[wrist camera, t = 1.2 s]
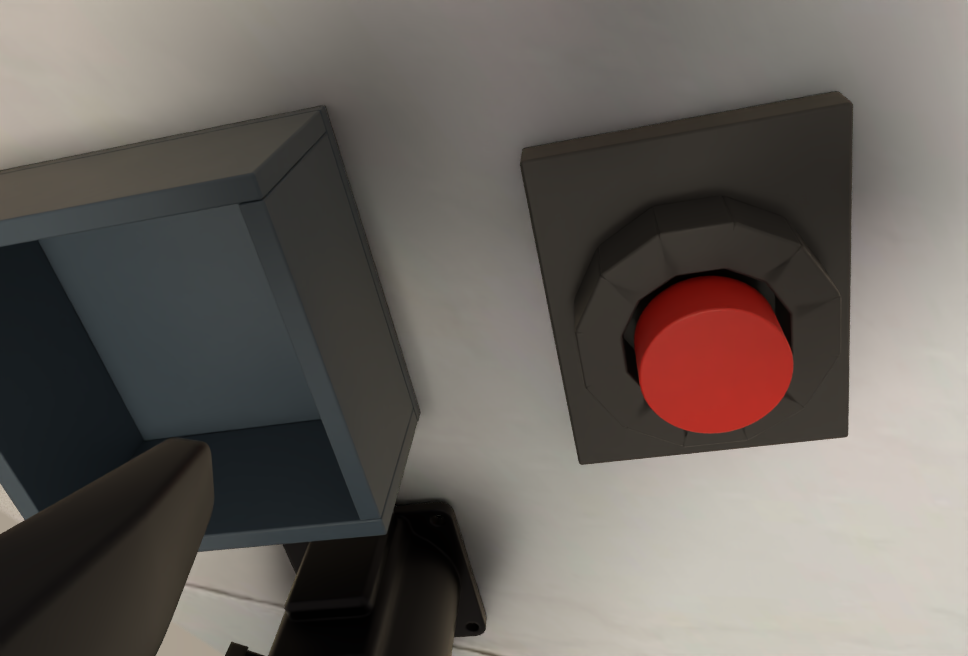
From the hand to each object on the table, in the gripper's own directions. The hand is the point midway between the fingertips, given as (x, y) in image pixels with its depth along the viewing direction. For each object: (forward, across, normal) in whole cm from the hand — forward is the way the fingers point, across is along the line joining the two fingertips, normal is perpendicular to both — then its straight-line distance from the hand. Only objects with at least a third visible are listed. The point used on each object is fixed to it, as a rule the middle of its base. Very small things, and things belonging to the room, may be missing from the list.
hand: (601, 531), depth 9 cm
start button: (+11, -4, +3) cm, 12 cm away
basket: (+14, +10, +6) cm, 18 cm away
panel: (+14, -4, +3) cm, 15 cm away
